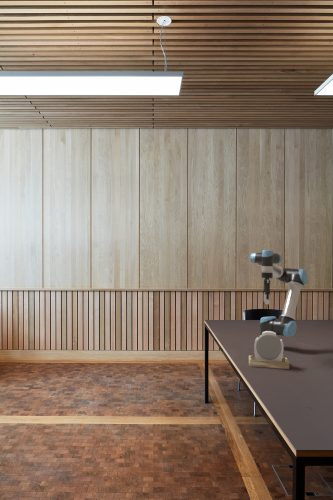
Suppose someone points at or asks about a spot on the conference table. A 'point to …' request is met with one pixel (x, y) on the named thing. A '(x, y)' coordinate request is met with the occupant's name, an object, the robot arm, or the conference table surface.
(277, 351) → the alarm clock
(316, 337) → the conference table surface
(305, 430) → the conference table surface
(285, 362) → the tray
